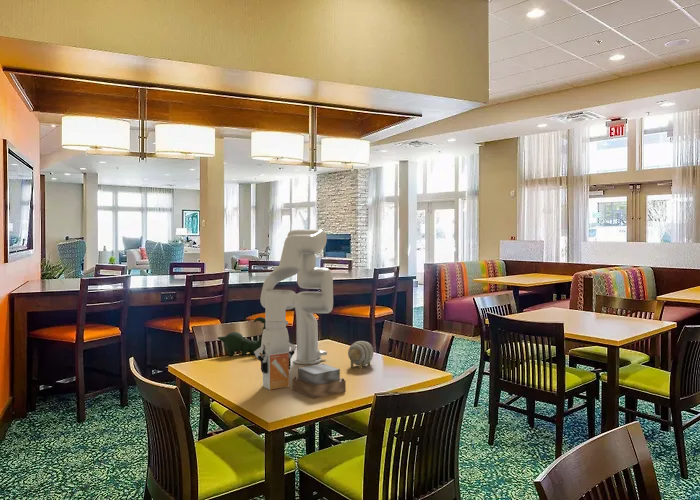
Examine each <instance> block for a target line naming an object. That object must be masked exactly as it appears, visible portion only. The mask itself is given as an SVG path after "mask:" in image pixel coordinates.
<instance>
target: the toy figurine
mask: <svg viewBox="0 0 700 500" xmlns="http://www.w3.org/2000/svg"><path fill="white" fill-rule="evenodd" d="M256 322H260V323H262V324H263V327H262V333H261V334H260V337H259V339H257V340H254V339H253V340H250V339H249V338H246V337H245V338H244V336H243V334H241V333H239V332H238V331H231V332H229V333H228V334H227V335H225V336H218V337H217V339H218V340H219V341H221V342H222V343H223V345H224V348H225V349H226V350H227V355H228V356H234V354H235V353H236V352H241V354H242V355H243V356H246V355H247V354H248V353H249V354H251V355H252V356H256V355H255V353H254V351H256V350H257V349H258V348H260V347H261V342H262V334H263V330H264V329H266V320H265V317H262V316H259V317H256V318H255V319H253V323H256Z"/></svg>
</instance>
